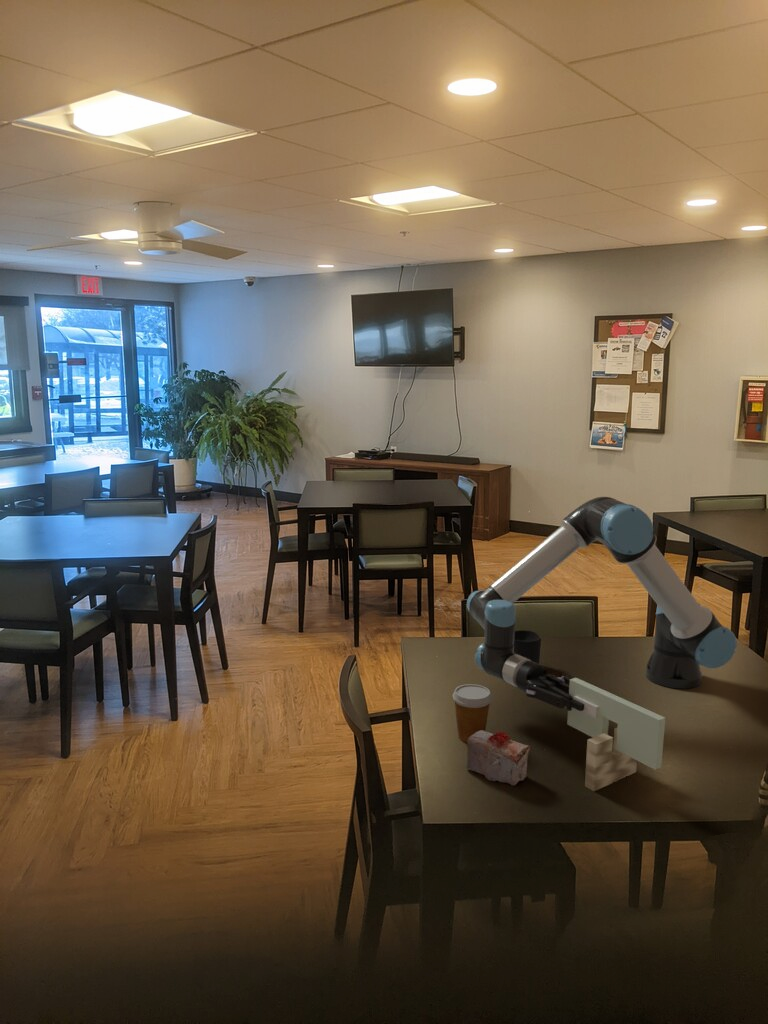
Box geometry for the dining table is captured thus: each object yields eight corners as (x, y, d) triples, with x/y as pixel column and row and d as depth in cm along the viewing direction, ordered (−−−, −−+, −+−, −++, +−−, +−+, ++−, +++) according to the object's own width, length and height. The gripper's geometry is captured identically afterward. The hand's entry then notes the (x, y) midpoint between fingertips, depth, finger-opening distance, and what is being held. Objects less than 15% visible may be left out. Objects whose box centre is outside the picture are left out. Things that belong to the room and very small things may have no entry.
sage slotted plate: (567, 724, 179) (569, 679, 177) (573, 721, 180) (575, 677, 178) (655, 769, 160) (659, 720, 157) (661, 767, 161) (665, 717, 158)
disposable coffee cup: (489, 748, 185) (490, 701, 182) (449, 744, 187) (450, 698, 184) (492, 729, 194) (493, 685, 192) (454, 726, 196) (454, 681, 193)
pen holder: (544, 665, 234) (545, 633, 232) (532, 676, 226) (534, 643, 224) (515, 659, 239) (516, 628, 237) (502, 669, 231) (503, 637, 229)
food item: (533, 776, 173) (534, 735, 171) (517, 793, 166) (518, 750, 164) (479, 758, 181) (480, 719, 179) (461, 773, 174) (462, 732, 172)
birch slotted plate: (627, 767, 176) (630, 722, 174) (636, 772, 174) (639, 726, 172) (584, 786, 169) (587, 739, 167) (593, 791, 167) (596, 744, 164)
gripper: (546, 682, 195) (622, 717, 176) (502, 696, 187) (576, 735, 168) (548, 653, 194) (624, 687, 175) (503, 667, 185) (578, 703, 166)
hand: (601, 710), depth 171 cm, fingers closed on sage slotted plate, 2 cm apart
